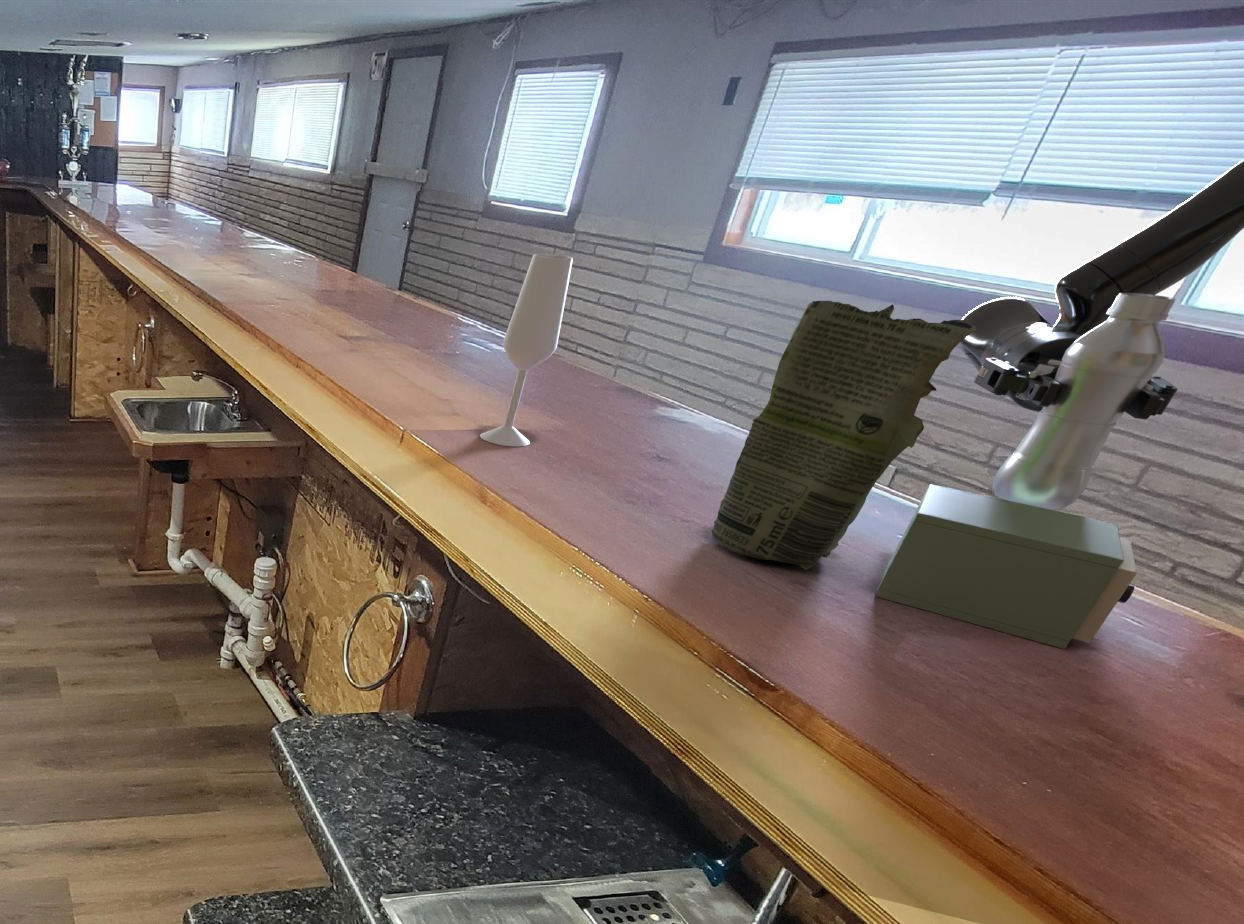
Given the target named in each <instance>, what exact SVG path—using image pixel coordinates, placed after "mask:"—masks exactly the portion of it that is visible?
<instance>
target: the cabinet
mask: <svg viewBox="0 0 1244 924" xmlns="http://www.w3.org/2000/svg"><path fill="white" fill-rule="evenodd" d="M1120 537H1121V536H1120V530H1119V525H1118V523H1114V522H1110V521H1106V520H1100V519H1096V518H1093V517H1086V516H1082V515H1077V514H1073V513H1068V512H1063V511H1060V510H1051V509H1045V508H1040V507H1036V506H1031V505H1026V504H1022V503H1017V502H1012V501H1007V500H1003V499H1001V498H999V497H993V496H988V495H985V494H980V493H979V494H978V493H975V492H971V491H965V490H961V489H955V488H951V487H946V486H942V485H938V484H937V485H936V484H932V483H929V485H928V487H927V489H926V491H925V493H924V494H923V496H922V498H921V500H920V502H919V504H918V506H917V508H916V509H915V511H914V513H913V515H912V517H911V519H910V521H909V523H908V524H907V527H906V528H905V531H904V533H903V534H902V537H901V538H900V540H899V542H898V544H897V546H896V548H895V549H894V552H893V554H892V555H891V557H890V559H889V561H888V563H887V566H886V568H885V570H884V572H883V575H882V578H881V580H880V582H879V585H878V587H877V589H876V591H875V594H874V596H875V597H877V598H880V599H884V600H887V601H891V602H895V603H898V604H901V605H906V606H909V607H913V608H915V609H919V610H923V611H927V612H930V613H934V614H938V615H942V616H944V617H948V618H952V619H956V620H958V621H962V622H965V623H970V624H974V625H977V626H980V627H984V628H987V629H991V630H994V631H998V632H1001V633H1005V634H1009V635H1013V636H1016V637H1019V638H1023V639H1027V640H1030V641H1034V642H1037V643H1041V644H1045V645H1048V646H1051V647H1056V648H1059V649H1063V650H1065V649H1066V648H1067V647H1068V645H1069V644H1070V642H1071V641H1072V638H1073V636H1074V635H1075V633H1076V632H1077V630H1078V629H1079V627H1080V626H1081V624H1082V623H1083V621H1084V620H1085V618H1086V617H1087V615H1088V614H1089V612H1090V611H1091V609H1092V608H1093V606H1094V605H1095V603H1096V602H1097V600H1098V599H1099V597H1100V596H1101V594H1102V593H1103V591H1104V590H1105V588H1106V587H1107V585H1108V584H1109V582H1110V581H1111V579H1112V578H1113V576H1114V575H1115V573H1116V572H1117V570H1118V568H1119V567H1120V566H1121V564H1122V563H1123V561H1124V559H1123V553H1122V547H1121V542H1120Z"/></svg>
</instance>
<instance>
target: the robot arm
mask: <svg viewBox="0 0 1244 924" xmlns="http://www.w3.org/2000/svg"><path fill="white" fill-rule="evenodd" d="M1242 230H1244V159H1242V160H1241V161H1239V162H1238V163H1237V164H1235V165H1234V166H1232V167H1231V168H1229V170H1227V171H1226V172H1224V173H1223V174H1221V175H1220V176H1218V177H1217V178H1216V179H1215V180H1213V181H1211V182H1210V183H1209V184H1208V185H1206V186H1205V187H1204V188H1202V189H1201V190H1199V191H1198V192H1197V193H1195V194H1193V196H1191V197H1190V198H1188V199H1187V200H1185V201H1184V202H1182V203H1180V204H1179V205H1177V206H1176V207H1175V208H1174V209H1172V210H1171V211H1168V212H1167V213H1166V214H1164V215H1163V216H1161V217H1160V218H1158V219H1156V220H1154V221H1153V222H1152V223H1150V224H1148V225H1147V226H1146V227H1143V228H1142V229H1140V230H1139V231H1137V232H1135V233H1133V234H1132V235H1130V236H1128V237H1127V238H1125V239H1123V240H1122V241H1120V242H1118V243H1116V244H1115V245H1113V246H1111V247H1110V248H1108V249H1105V250H1104V251H1102V252H1101V253H1099V254H1097V255H1096V256H1094V257H1092V258H1091V259H1089V260H1087V261H1085V262H1084V263H1082V264H1081V265H1079V266H1077V267H1075V268H1073V269H1072V270H1070V271H1069V272H1067V273H1066V274H1064V275H1062V276H1061V277H1060V278H1059V279H1058V280H1057V281H1056V283H1055V286H1054V292H1055V298H1056V300H1057V303H1058V306H1059V317H1058V319H1057V320H1056V322H1055V324H1054V325H1053V324H1051V323H1050V322H1049V321H1048V320H1047V319H1046V318H1045V317H1044V315H1043V314H1041V312H1040V311H1039V310H1038V309H1037V308H1036V307H1035V306H1034V305H1033V304H1032V303H1031V302H1029V300H1027V299H1024V298H1021V297H1017V296H1015V297H1014V296H1013V297H1011V296H1010V297H1009V296H1008V297H1000V298H996V299H992V300H990V301H987V302H984V303H982V304H979V305H978V306H976V307H975V308H973V309H972V310H970V311H968V313H967V314H965V316H963V317H962V319H961V320H966V319H968V322H969V323H970V324H971V325H973V326H976V330H975V331H974V332H972V333H971V334H970V335H968V336H967V337H966V338H965V339H963V340H962V341H961V342H959V343H958V344H957V346H958V347H959V348H960V350H961V351H962V352H963V353H964V355H965V356H966V357H967V359H968V360H969V362H970V363H971V364H972V365H973V367H974V368H975V369H976V370H977V372H978V373H977V375H976V377H975V378H974V381H973V383H974V384H976V385H978V386H979V387H981V388H983V389H984V390H986V391H987V392H990V393H991V394H994V395H995V396H999V397H1001V396H1007V397H1008V398H1010V400H1012V401H1013V402H1014V403H1016V405H1018V406H1019V407H1021V408H1024V409H1027V410H1029V411H1032V412H1038V413H1039V412H1040V411H1041V410H1042V409H1043V407H1048V406H1049V405H1050V404H1051V402H1052V400H1053V398H1054V397H1055V395H1056V393H1057V391H1058V390H1059V387H1060V383H1058V382H1056V381H1055V380H1054V379H1055V376H1056V374H1057V371H1058V368H1059V366H1060V363H1062V358H1063V356H1064V354H1065V351H1066V350H1067V349H1068V348H1069V347H1070V346H1071V345H1072V344H1073V343H1074V342H1075V341H1076V340H1077V339H1079V338H1080V337H1082V336H1083V335H1085V334H1086V333H1087V332H1089V331H1091V330H1092V329H1094V328H1096V327H1097V326H1099V325H1101V324H1103V323H1104V322H1106V321H1107V320H1108V318H1109V317H1110V315H1108V314H1106V313H1107V312H1108V310H1109V308H1111V307H1112V305H1113V303H1114V302H1115V300H1116V298H1117V296H1118V295H1119V293H1138V294H1149V295H1158V294H1159V293H1161V292H1164V291H1165V290H1167V289H1169V288H1171V287H1172V286H1174V285H1175V284H1177V283H1180V282H1181V281H1182V280H1183V279H1185V278H1186V277H1188V276H1189V275H1191V274H1192V273H1193V272H1195V271H1197V270H1198V269H1200V267H1202V266H1203V265H1205V264H1206V263H1207V262H1208V261H1209V260H1211V258H1213V256H1215V255H1216V254H1217V253H1218V252H1219V251H1220V250H1222V248H1224V247H1225V246H1226V245H1227V244H1229V242H1230V241H1231V240H1232V239H1234V238H1235V237H1236V236H1237V235H1238V234H1239V233H1240V232H1241V231H1242ZM1178 389H1179V387H1176V386H1175V385H1174V384H1173V383H1171V382H1170V381H1169V380H1167V379H1165V378H1162V376H1158V375H1154V376H1152V378H1151V379H1150V380H1149V381H1148V382H1147V384H1146V385H1145V386H1144V387H1143V388H1142V390H1141V391H1140V392H1139V393H1138V394H1137V396H1136V397H1135V398H1134V399H1133V400H1132V402H1131V403H1130V404H1129V406H1128V407H1127V409H1126V410H1125V412H1124V413H1125V414H1128V415H1129V416H1131V417H1132V418H1134V419H1137V420H1145V421H1146V420H1148V419H1149V418H1150V416H1153V417H1154V416H1156V415H1159V416H1160V415H1163V414H1164V412H1165V410H1166V409H1167V407H1168V406H1169V404H1170V402H1171V401H1172V400H1173V398H1174V396H1175V395H1176V394H1177V391H1178Z"/></svg>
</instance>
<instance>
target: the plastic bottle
mask: <svg viewBox="0 0 1244 924" xmlns="http://www.w3.org/2000/svg"><path fill="white" fill-rule="evenodd" d="M1175 303H1176V298H1175V297H1171V296H1165V295H1158V294H1156V295H1149V294H1138V293H1119V295H1118V296H1117V298H1116V300H1115V302H1114V303H1113V305H1112V307H1111V308H1109V310H1108V312H1107V313H1106V314H1108V315H1110V317H1109V318H1108V320H1107V321H1106V322H1104V323H1103V324H1101V325H1099V326H1097V327H1096V328H1094V329H1092V330H1091V331H1089V332H1087V333H1086V334H1085V335H1083V336H1082V337H1080V338H1079V339H1077V340H1076V341H1075V342H1074V343H1073V344H1072V345H1071V346H1070V347H1069V348H1068V349H1067V350H1066V351H1065V354H1064V356H1063V358H1062V363H1060V366H1059V368H1058V371H1057V374H1056V376H1055V379H1054V380H1055V381H1056V382H1058V383H1060V387H1059V390H1058V391H1057V393H1056V395H1055V397H1054V398H1053V400H1052V402H1051V404H1050V405H1049V406H1048V407H1043V409H1042V410H1041V411H1040V412H1038V414H1037V416H1036V418H1035V420H1034V422H1033V423H1032V424H1031V426H1030V427H1029V429H1028V431H1027V432H1026V433H1025V435H1024V437H1023V438H1022V439H1021V441H1020V442H1019V443H1018V445H1017V446H1016V448H1015V449H1014V452H1011V454H1009V456H1008V457H1007V458H1006V459H1005V461H1004V462H1003V463H1002V464H1001V465H1000V467H999V468H998V470H997V471H996V473H995V474H994V475H995V476H994V478H993V482H992V485H991V486H992V490H993V494H994V496H996V498H998V499H1003V500H1007V501H1012V502H1017V503H1022V504H1026V505H1031V506H1036V507H1040V508H1045V509H1050V510H1054V511H1059V510H1063V509H1066V508H1067V507H1069V506H1070V505H1072V504H1074V503H1075V502H1076V501H1077V500H1078V499H1079V498H1080V497H1081V496H1082V495H1083V493H1084V492H1085V491H1086V489H1087V486H1088V484H1089V482H1090V479H1091V478H1092V474H1093V471H1094V467H1093V466H1094V465H1095V463H1096V461H1097V460H1098V457H1099V456H1100V453H1101V452H1102V449H1103V447H1104V445H1105V443H1106V441H1107V439H1108V437H1109V435H1110V433H1111V432H1112V430H1114V428H1115V426H1116V425H1117V421H1118V420H1119V419H1121V417H1122V416H1123V415H1124V413H1126V412H1125V410H1126V409H1127V407H1128V406H1129V404H1130V403H1131V402H1132V400H1133V399H1134V398H1135V397H1136V396H1137V394H1138V393H1139V392H1140V391H1141V390H1142V388H1143V387H1144V386H1145V385H1146V384H1147V382H1148V381H1149V380H1150V379H1151V378H1152V377H1153V375H1154V374H1156V373H1157V371H1158V370H1159V369H1160V367H1161V366H1162V365H1163V363H1164V359H1165V354H1166V350H1165V346H1164V340H1163V338H1162V335H1161V332H1160V330H1159V325H1160V322H1164V321H1167V319H1168V317H1169V313H1170V311H1171V309H1172V308H1173V306H1174V304H1175Z"/></svg>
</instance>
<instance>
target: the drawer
mask: <svg viewBox="0 0 1244 924" xmlns="http://www.w3.org/2000/svg"><path fill="white" fill-rule="evenodd" d="M1120 542H1121V547H1122V553H1123V559H1124V561H1123V563H1122V564H1121V566H1120V567H1119V568H1118V570H1117V572H1116V573H1115V575H1114V576H1113V578H1112V579H1111V581H1110V582H1109V584H1108V585H1107V587H1106V588H1105V590H1104V591H1103V593H1102V594H1101V596H1100V597H1099V599H1098V600H1097V602H1096V603H1095V605H1094V606H1093V608H1092V609H1091V611H1090V612H1089V614H1088V615H1087V617H1086V618H1085V620H1084V621H1083V623H1082V624H1081V626H1080V627H1079V629H1078V630H1077V632H1076V633H1075V635H1074V636H1073V638H1072V639H1073V640H1076V641H1080V642H1083V643H1088V644H1089V643H1091V641H1092V640H1093V639H1094V637H1095V636H1096V634H1097V633H1098V632H1099V630H1100V628H1101V627H1102V626H1103V624H1104V623H1105V621H1106V620H1107V618H1108V617H1109V615H1110V614H1111V612H1112V610H1113V609H1114V608H1115V606H1116V605H1117V604H1118V603H1121V604H1125V603H1127V601H1128V600H1129V599H1130V598H1131V596H1132V595H1133V593H1134V591H1135V585H1132V584H1131V583H1132V581H1133V580H1134V578H1135V577H1136V575H1137V574H1138V572H1137V565H1136V561H1135V560H1136V559H1135V555H1134V551H1133V546H1132V545H1133V544H1132V541H1131V538H1128V537H1123V536H1120ZM1072 639H1071V640H1072Z"/></svg>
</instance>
